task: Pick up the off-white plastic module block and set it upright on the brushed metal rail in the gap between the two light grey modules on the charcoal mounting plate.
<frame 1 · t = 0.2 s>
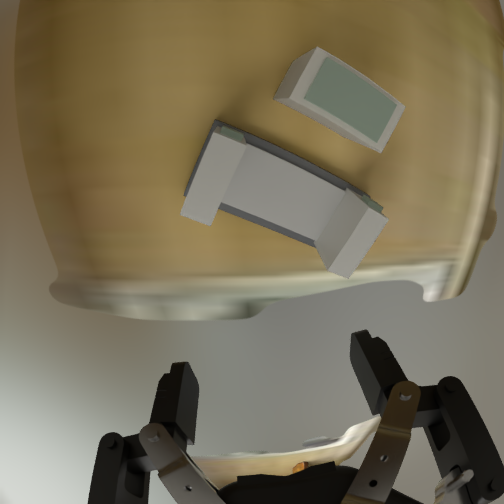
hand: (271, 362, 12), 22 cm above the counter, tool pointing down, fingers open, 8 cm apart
pancake mix bag: (301, 465, 95), on the counter
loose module: (319, 99, 26), on the counter
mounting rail: (281, 190, 31), on the counter
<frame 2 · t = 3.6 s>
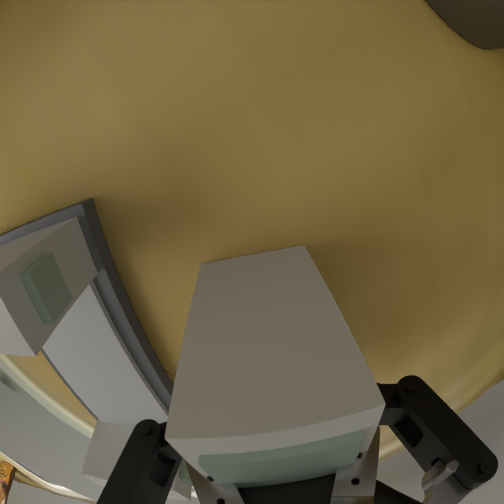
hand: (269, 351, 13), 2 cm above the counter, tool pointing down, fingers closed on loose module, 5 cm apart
pancake mix bag: (10, 465, 47), on the counter
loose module: (266, 327, 15), on the counter, touching gripper
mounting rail: (99, 357, 16), on the counter
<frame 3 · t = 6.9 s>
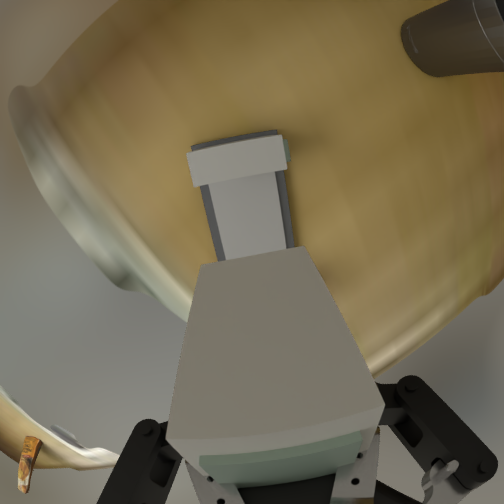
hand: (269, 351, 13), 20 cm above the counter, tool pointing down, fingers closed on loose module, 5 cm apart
pancake mix bag: (35, 440, 63), on the counter
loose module: (266, 327, 15), point 18 cm above the counter, touching gripper
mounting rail: (250, 223, 32), on the counter
when the fingers open (5 cm above the counter, at t = 10.4 s): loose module drops 1 cm, resting on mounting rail.
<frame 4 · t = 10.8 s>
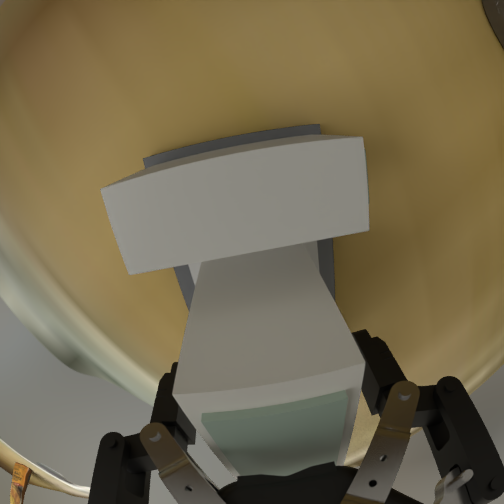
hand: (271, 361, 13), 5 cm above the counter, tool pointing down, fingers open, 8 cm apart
pancake mix bag: (25, 467, 49), on the counter
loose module: (264, 312, 16), point 1 cm above the counter, touching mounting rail
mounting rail: (262, 299, 18), on the counter
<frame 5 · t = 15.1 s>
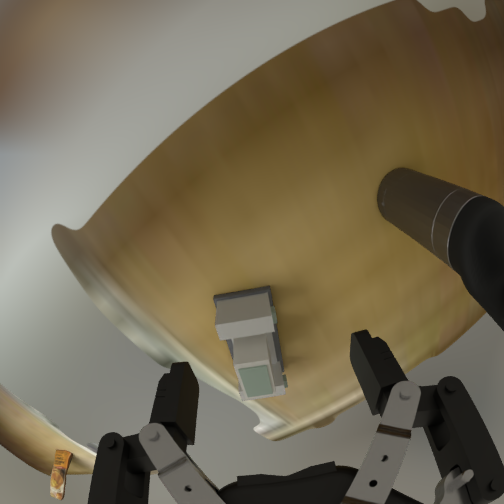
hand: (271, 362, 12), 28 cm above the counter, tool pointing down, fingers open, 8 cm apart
pancake mix bag: (65, 452, 79), on the counter
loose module: (253, 342, 46), point 1 cm above the counter, touching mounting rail
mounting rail: (252, 337, 48), on the counter
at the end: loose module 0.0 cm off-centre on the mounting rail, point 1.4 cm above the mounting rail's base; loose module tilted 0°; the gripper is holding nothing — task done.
